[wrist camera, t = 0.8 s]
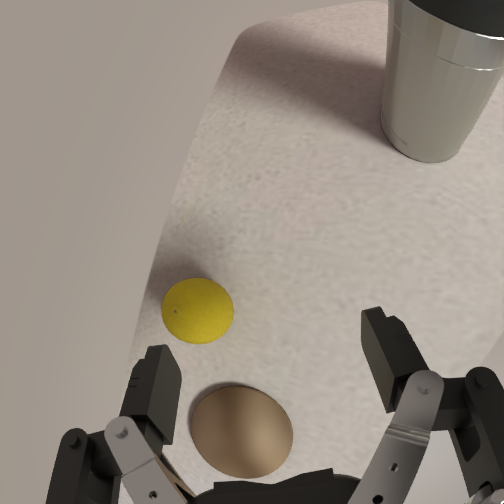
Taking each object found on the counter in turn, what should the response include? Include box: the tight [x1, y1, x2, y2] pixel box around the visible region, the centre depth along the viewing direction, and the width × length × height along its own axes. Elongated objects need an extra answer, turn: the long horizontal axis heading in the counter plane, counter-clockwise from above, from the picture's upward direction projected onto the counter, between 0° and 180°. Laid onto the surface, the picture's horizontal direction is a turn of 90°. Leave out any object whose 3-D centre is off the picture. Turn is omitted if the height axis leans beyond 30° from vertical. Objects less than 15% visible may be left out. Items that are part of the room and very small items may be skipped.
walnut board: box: [191, 386, 293, 479], centre depth 27 cm, size 10×10×1 cm
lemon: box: [162, 278, 234, 344], centre depth 26 cm, size 6×6×8 cm
